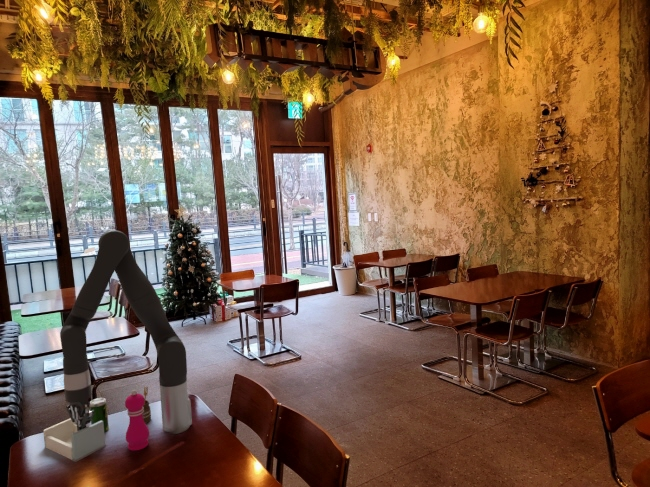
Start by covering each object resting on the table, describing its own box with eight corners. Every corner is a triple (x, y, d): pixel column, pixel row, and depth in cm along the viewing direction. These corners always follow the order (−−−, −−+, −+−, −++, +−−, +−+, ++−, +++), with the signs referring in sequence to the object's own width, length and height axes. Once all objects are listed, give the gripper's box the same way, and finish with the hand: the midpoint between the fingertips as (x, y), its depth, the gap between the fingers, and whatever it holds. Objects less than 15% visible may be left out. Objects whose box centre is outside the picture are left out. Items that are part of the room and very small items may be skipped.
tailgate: (103, 446, 148) (101, 420, 147) (106, 448, 147) (104, 421, 146) (72, 463, 139) (69, 434, 138) (75, 464, 138) (72, 435, 137)
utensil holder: (130, 423, 163) (128, 392, 162) (142, 415, 169) (139, 385, 168) (143, 425, 162) (141, 394, 160) (155, 417, 168) (152, 387, 166)
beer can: (93, 438, 154) (90, 405, 153) (91, 432, 158) (88, 400, 157) (110, 433, 157) (107, 401, 155) (107, 427, 161) (105, 396, 160)
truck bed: (74, 435, 156) (73, 417, 155) (102, 447, 148) (100, 427, 147) (45, 450, 147) (43, 430, 147) (72, 462, 139) (70, 441, 139)
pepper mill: (122, 448, 146) (118, 390, 145) (144, 439, 152) (139, 383, 150) (132, 456, 142) (127, 396, 140) (154, 447, 147) (149, 389, 145)
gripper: (100, 383, 143) (105, 435, 144) (77, 376, 149) (82, 425, 151) (77, 392, 136) (82, 446, 138) (54, 385, 143) (59, 436, 145)
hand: (82, 435), depth 144 cm, fingers closed
